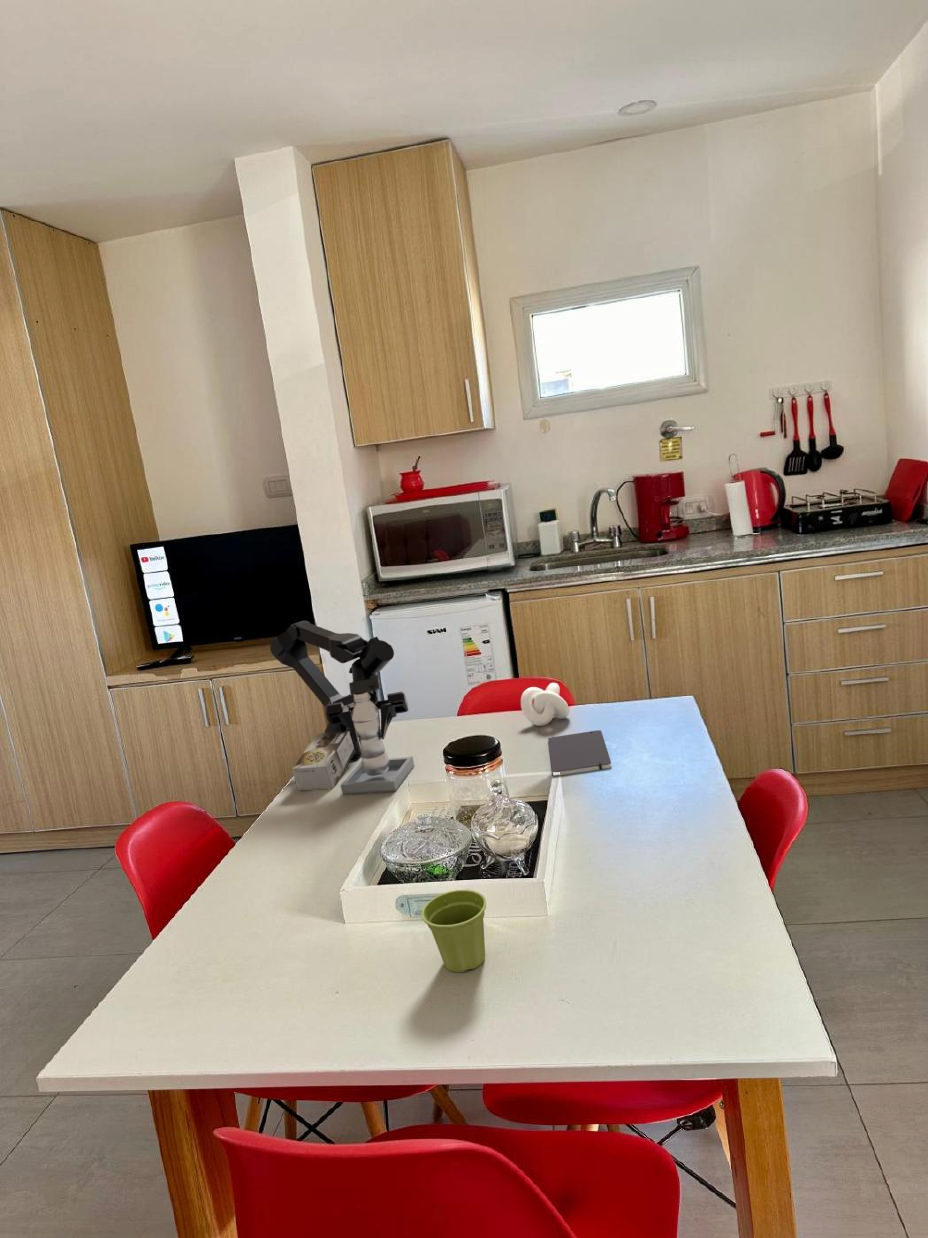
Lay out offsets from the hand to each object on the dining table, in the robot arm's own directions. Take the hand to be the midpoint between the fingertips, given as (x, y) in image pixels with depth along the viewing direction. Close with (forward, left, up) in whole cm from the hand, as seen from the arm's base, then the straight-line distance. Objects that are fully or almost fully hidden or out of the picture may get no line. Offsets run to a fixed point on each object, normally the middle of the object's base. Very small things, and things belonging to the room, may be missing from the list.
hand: (369, 741), depth 197 cm
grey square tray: (-1, 0, -10) cm, 10 cm away
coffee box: (+2, -15, -7) cm, 17 cm away
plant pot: (+68, +38, -11) cm, 78 cm away
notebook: (-8, +46, -11) cm, 48 cm away
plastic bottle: (-1, 0, -9) cm, 9 cm away
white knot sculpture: (-32, +36, -11) cm, 49 cm away
